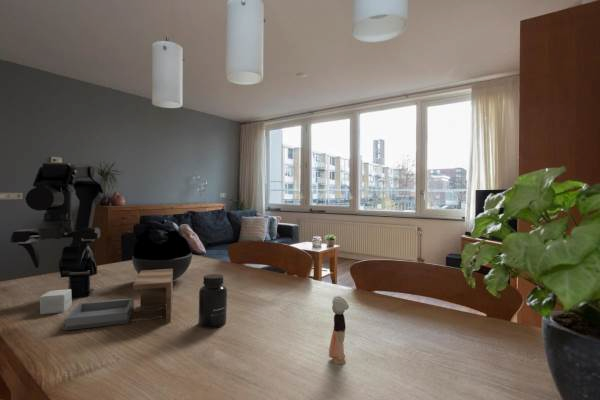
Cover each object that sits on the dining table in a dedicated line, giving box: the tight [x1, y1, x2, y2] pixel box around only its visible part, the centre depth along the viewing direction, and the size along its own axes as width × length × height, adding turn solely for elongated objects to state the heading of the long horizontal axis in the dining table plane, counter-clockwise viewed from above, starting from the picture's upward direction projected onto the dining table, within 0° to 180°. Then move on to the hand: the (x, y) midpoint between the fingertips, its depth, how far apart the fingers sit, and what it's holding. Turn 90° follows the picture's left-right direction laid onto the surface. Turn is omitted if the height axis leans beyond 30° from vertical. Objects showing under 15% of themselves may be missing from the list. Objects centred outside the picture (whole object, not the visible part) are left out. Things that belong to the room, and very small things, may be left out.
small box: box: [39, 288, 73, 315], centre depth 88 cm, size 6×6×5 cm
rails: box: [61, 306, 166, 330], centre depth 83 cm, size 8×23×1 cm, turn 110°
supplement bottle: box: [198, 273, 228, 329], centre depth 80 cm, size 7×7×12 cm
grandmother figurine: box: [328, 295, 350, 365], centre depth 63 cm, size 8×4×13 cm, turn 5°
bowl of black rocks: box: [131, 229, 193, 281], centre depth 115 cm, size 20×20×19 cm
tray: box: [64, 297, 135, 331], centre depth 82 cm, size 11×13×3 cm
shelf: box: [132, 269, 174, 324], centre depth 86 cm, size 15×8×10 cm, turn 20°
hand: (58, 266), depth 86 cm, fingers open, 9 cm apart
